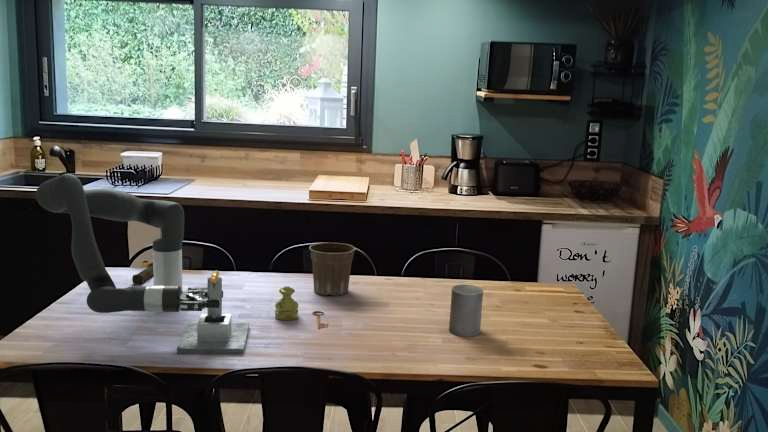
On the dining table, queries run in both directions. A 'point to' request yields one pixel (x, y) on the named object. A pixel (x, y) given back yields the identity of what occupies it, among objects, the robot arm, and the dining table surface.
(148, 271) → the hand tool
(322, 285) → the plant pot
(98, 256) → the robot arm
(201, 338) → the candle holder
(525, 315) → the dining table surface
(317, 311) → the key
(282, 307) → the green scale weight
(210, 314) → the silver grey upright block
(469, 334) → the pillar candle
